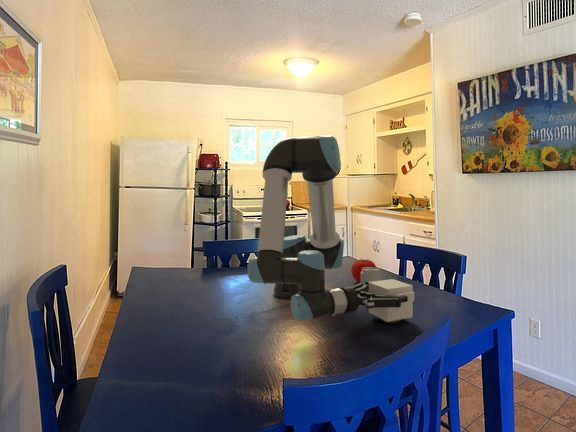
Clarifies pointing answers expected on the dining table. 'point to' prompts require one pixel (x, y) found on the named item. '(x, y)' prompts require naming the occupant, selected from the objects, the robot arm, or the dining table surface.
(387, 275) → the dining table surface
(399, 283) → the cream rounded cube
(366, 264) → the tomato
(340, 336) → the dining table surface
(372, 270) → the can
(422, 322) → the dining table surface
